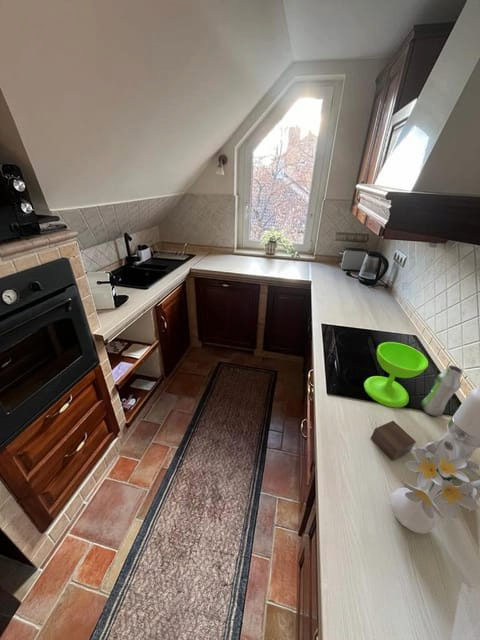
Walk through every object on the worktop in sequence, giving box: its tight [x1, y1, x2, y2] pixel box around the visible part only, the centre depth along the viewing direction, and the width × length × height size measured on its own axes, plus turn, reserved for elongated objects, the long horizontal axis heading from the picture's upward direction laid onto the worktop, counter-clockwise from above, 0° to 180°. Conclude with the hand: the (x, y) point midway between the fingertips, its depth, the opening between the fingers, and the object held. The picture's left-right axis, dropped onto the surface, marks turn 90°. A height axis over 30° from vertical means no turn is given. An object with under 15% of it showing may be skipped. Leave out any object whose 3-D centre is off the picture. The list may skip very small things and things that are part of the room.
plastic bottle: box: [420, 365, 463, 417], centre depth 87 cm, size 6×7×20 cm
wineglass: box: [363, 341, 429, 409], centre depth 95 cm, size 16×16×18 cm
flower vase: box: [389, 437, 480, 535], centre depth 56 cm, size 13×18×25 cm
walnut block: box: [370, 420, 417, 462], centre depth 79 cm, size 8×8×5 cm
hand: (436, 469), depth 73 cm, fingers closed on green block, 5 cm apart
